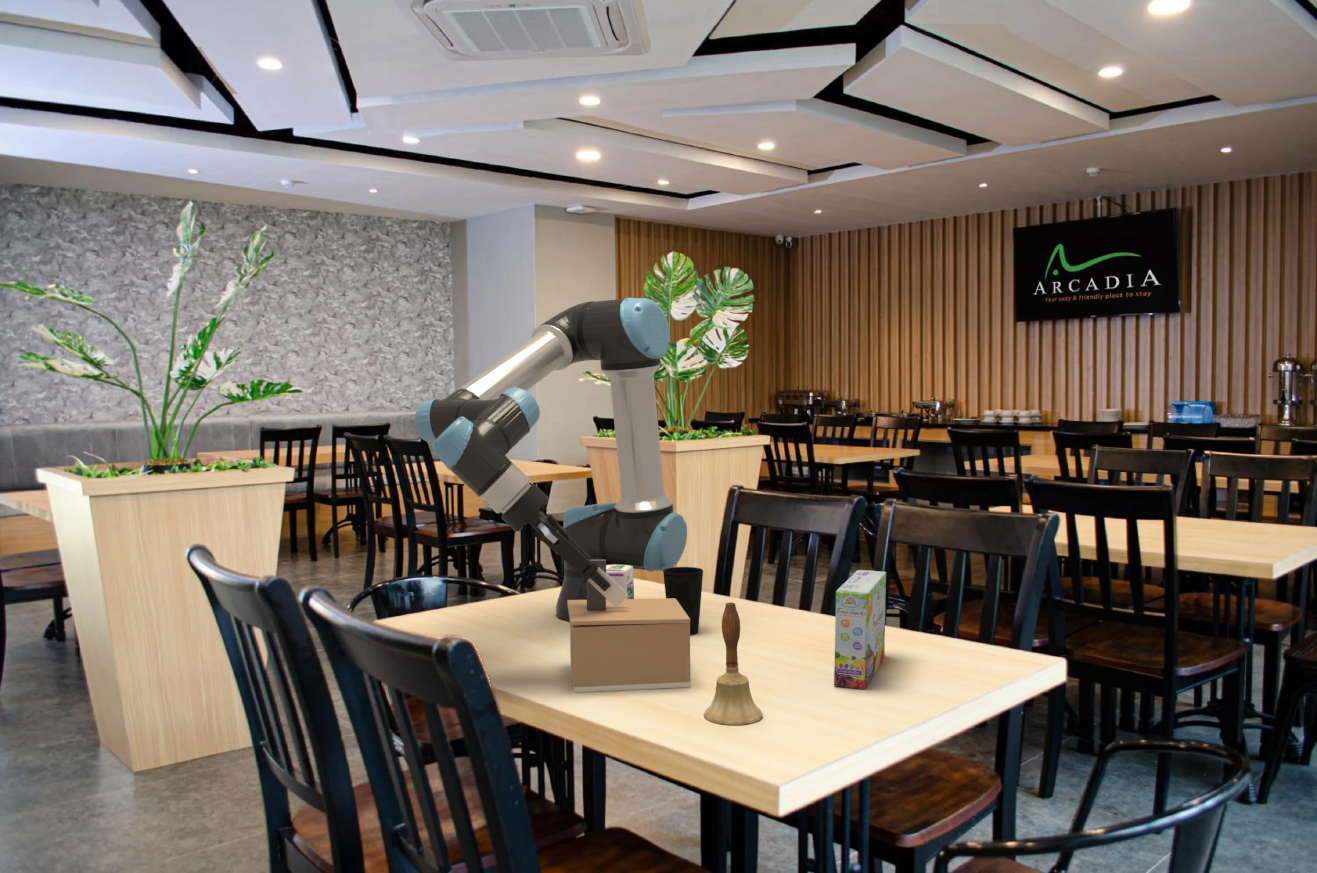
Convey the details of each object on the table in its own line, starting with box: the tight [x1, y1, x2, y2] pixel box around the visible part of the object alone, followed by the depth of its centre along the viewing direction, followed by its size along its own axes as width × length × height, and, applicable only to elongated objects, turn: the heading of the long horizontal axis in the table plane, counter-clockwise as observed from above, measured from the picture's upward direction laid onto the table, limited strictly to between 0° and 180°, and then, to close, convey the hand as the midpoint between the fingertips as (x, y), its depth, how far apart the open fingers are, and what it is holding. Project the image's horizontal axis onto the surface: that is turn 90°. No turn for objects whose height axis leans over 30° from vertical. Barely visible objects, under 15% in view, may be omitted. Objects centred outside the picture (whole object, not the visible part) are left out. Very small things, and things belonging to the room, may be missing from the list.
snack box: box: [833, 569, 887, 690], centre depth 160 cm, size 21×6×15 cm, turn 160°
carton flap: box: [567, 559, 690, 626], centre depth 158 cm, size 18×16×9 cm
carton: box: [569, 623, 692, 693], centre depth 159 cm, size 18×16×10 cm
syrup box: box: [606, 564, 635, 599], centre depth 178 cm, size 6×6×14 cm
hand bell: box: [703, 602, 764, 726], centre depth 138 cm, size 8×8×16 cm
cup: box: [662, 566, 704, 636], centre depth 188 cm, size 8×8×12 cm
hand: (621, 599), depth 158 cm, fingers closed on carton flap, 2 cm apart
